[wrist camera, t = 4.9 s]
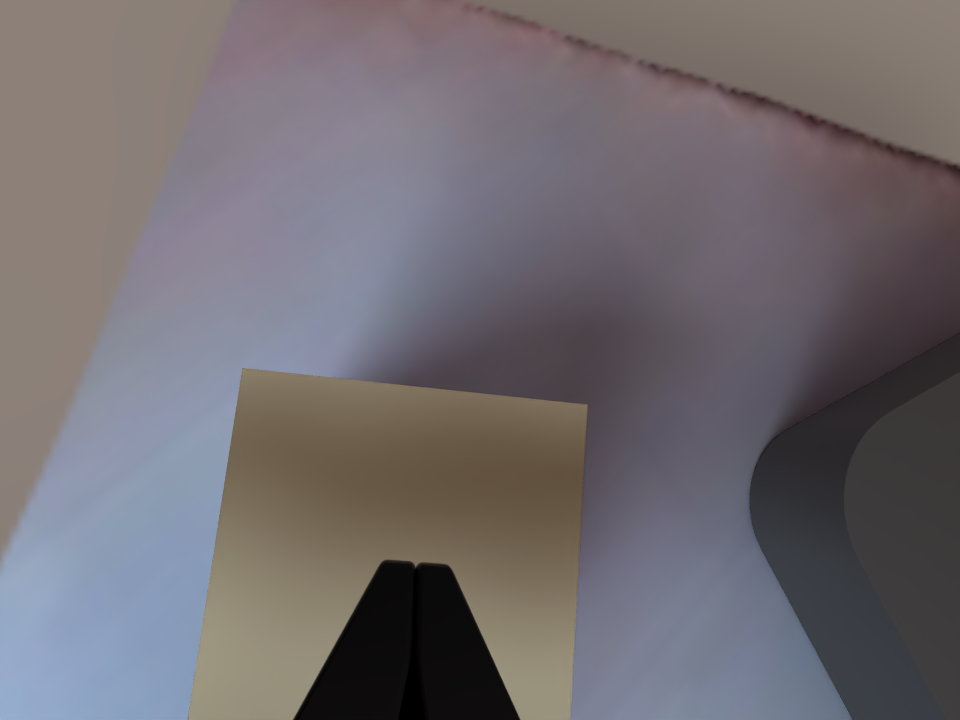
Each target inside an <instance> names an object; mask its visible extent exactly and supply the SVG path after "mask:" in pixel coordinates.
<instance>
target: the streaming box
mask: <svg viewBox="0 0 960 720" xmlns="http://www.w3.org/2000/svg"><path fill="white" fill-rule="evenodd" d="M750 514H751V521H752V525H753V529H754V532H755V536H756V538H757V541H758V543H759V545H760V547H761V549H762V552H763V553H764V555H765V557H766V559H767V561H768V563H769V565H770V566H771V568H772V570H773V572H774V574H775V576H776V578H777V579H778V581H779V583H780V585H781V587H782V589H783V591H784V593H785V594H786V596H787V598H788V600H789V602H790V604H791V606H792V607H793V609H794V611H795V613H796V615H797V617H798V619H799V620H800V622H801V624H802V626H803V628H804V630H805V632H806V633H807V635H808V637H809V639H810V641H811V643H812V645H813V646H814V648H815V650H816V652H817V654H818V656H819V658H820V659H821V661H822V663H823V665H824V667H825V669H826V671H827V673H828V674H829V676H830V678H831V680H832V682H833V684H834V686H835V687H836V689H837V691H838V693H839V695H840V697H841V699H842V700H843V702H844V704H845V706H846V708H847V710H848V712H849V713H850V715H851V717H852V719H853V720H960V333H959V334H957V335H955V336H953V337H952V338H950V339H948V340H946V341H944V342H943V343H941V344H939V345H937V346H935V347H934V348H932V349H930V350H928V351H926V352H925V353H923V354H921V355H919V356H918V357H916V358H914V359H912V360H910V361H909V362H907V363H905V364H903V365H901V366H900V367H898V368H896V369H894V370H892V371H891V372H889V373H887V374H885V375H884V376H882V377H880V378H878V379H876V380H875V381H873V382H871V383H869V384H867V385H866V386H864V387H862V388H860V389H858V390H857V391H855V392H853V393H851V394H850V395H848V396H846V397H844V398H842V399H841V400H839V401H837V402H835V403H833V404H832V405H830V406H828V407H826V408H824V409H823V410H821V411H819V412H817V413H816V414H814V415H812V416H810V417H808V418H807V419H805V420H803V421H801V422H799V423H798V424H796V425H794V426H792V427H790V428H789V429H787V430H786V431H784V432H783V433H781V434H780V435H779V436H777V437H776V438H775V439H774V440H773V441H772V442H771V443H770V444H769V446H768V447H767V448H766V450H765V451H764V453H763V454H762V456H761V458H760V460H759V462H758V464H757V466H756V468H755V471H754V475H753V478H752V482H751V489H750Z"/></svg>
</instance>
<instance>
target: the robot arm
mask: <svg viewBox="0 0 960 720" xmlns="http://www.w3.org/2000/svg"><path fill="white" fill-rule="evenodd" d="M293 720H520V717H519V715H518V713H517V711H516V709H515V706H514V704H513V702H512V700H511V698H510V695H509V693H508V691H507V689H506V687H505V684H504V682H503V680H502V678H501V676H500V673H499V671H498V669H497V667H496V665H495V662H494V660H493V658H492V656H491V654H490V651H489V649H488V647H487V645H486V643H485V640H484V638H483V636H482V634H481V632H480V629H479V627H478V625H477V623H476V621H475V618H474V616H473V614H472V612H471V609H470V607H469V605H468V603H467V601H466V598H465V596H464V594H463V592H462V590H461V587H460V585H459V583H458V581H457V579H456V576H455V574H454V572H453V570H452V569H451V567H450V566H449V565H447V564H441V563H428V562H421V563H419V564H417V566H416V569H415V564H414V563H413V562H411V561H402V560H389V559H387V560H384V561H382V562H381V563H380V564H379V566H378V568H377V570H376V571H375V573H374V575H373V577H372V579H371V580H370V582H369V584H368V586H367V587H366V589H365V591H364V593H363V595H362V596H361V598H360V600H359V602H358V604H357V605H356V607H355V609H354V611H353V613H352V614H351V616H350V618H349V620H348V622H347V623H346V625H345V627H344V629H343V631H342V632H341V634H340V636H339V638H338V640H337V641H336V643H335V645H334V647H333V648H332V650H331V652H330V654H329V656H328V657H327V659H326V661H325V663H324V665H323V666H322V668H321V670H320V672H319V674H318V675H317V677H316V679H315V681H314V683H313V684H312V686H311V688H310V690H309V692H308V693H307V695H306V697H305V699H304V701H303V702H302V704H301V706H300V708H299V709H298V711H297V713H296V715H295V717H294V718H293Z"/></svg>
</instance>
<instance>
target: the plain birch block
mask: <svg viewBox="0 0 960 720" xmlns="http://www.w3.org/2000/svg"><path fill="white" fill-rule="evenodd" d="M587 406H588V405H587V404H577V403H568V402H558V401H549V400H540V399H530V398H521V397H511V396H502V395H492V394H483V393H473V392H464V391H455V390H445V389H436V388H426V387H417V386H407V385H398V384H388V383H379V382H369V381H360V380H351V379H341V378H332V377H322V376H313V375H303V374H294V373H284V372H275V371H266V370H256V369H247V368H242V375H241V381H240V387H239V394H238V400H237V407H236V413H235V419H234V426H233V432H232V439H231V445H230V451H229V458H228V464H227V471H226V477H225V483H224V490H223V496H222V503H221V509H220V515H219V522H218V528H217V535H216V541H215V547H214V554H213V560H212V567H211V573H210V579H209V586H208V592H207V599H206V605H205V611H204V618H203V624H202V631H201V637H200V643H199V650H198V656H197V663H196V669H195V675H194V682H193V688H192V695H191V701H190V707H189V714H188V720H293V718H294V717H295V715H296V713H297V711H298V709H299V708H300V706H301V704H302V702H303V701H304V699H305V697H306V695H307V693H308V692H309V690H310V688H311V686H312V684H313V683H314V681H315V679H316V677H317V675H318V674H319V672H320V670H321V668H322V666H323V665H324V663H325V661H326V659H327V657H328V656H329V654H330V652H331V650H332V648H333V647H334V645H335V643H336V641H337V640H338V638H339V636H340V634H341V632H342V631H343V629H344V627H345V625H346V623H347V622H348V620H349V618H350V616H351V614H352V613H353V611H354V609H355V607H356V605H357V604H358V602H359V600H360V598H361V596H362V595H363V593H364V591H365V589H366V587H367V586H368V584H369V582H370V580H371V579H372V577H373V575H374V573H375V571H376V570H377V568H378V566H379V564H380V563H381V562H382V561H384V560H387V559H389V560H402V561H411V562H413V563H414V564H415V569H416V566H417V564H419V563H421V562H428V563H441V564H447V565H449V566H450V567H451V569H452V570H453V572H454V574H455V576H456V579H457V581H458V583H459V585H460V587H461V590H462V592H463V594H464V596H465V598H466V601H467V603H468V605H469V607H470V609H471V612H472V614H473V616H474V618H475V621H476V623H477V625H478V627H479V629H480V632H481V634H482V636H483V638H484V640H485V643H486V645H487V647H488V649H489V651H490V654H491V656H492V658H493V660H494V662H495V665H496V667H497V669H498V671H499V673H500V676H501V678H502V680H503V682H504V684H505V687H506V689H507V691H508V693H509V695H510V698H511V700H512V702H513V704H514V706H515V709H516V711H517V713H518V715H519V717H520V720H570V715H571V697H572V679H573V661H574V642H575V624H576V606H577V588H578V570H579V552H580V533H581V515H582V497H583V479H584V461H585V443H586V424H587Z"/></svg>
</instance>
